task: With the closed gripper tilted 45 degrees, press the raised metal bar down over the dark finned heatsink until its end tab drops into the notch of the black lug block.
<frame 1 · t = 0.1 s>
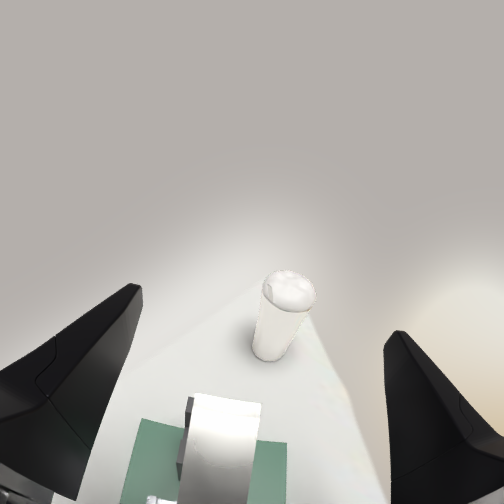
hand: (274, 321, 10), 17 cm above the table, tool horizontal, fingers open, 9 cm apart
lug block: (206, 462, 18), resting on board
milkshake: (264, 352, 29), on the table
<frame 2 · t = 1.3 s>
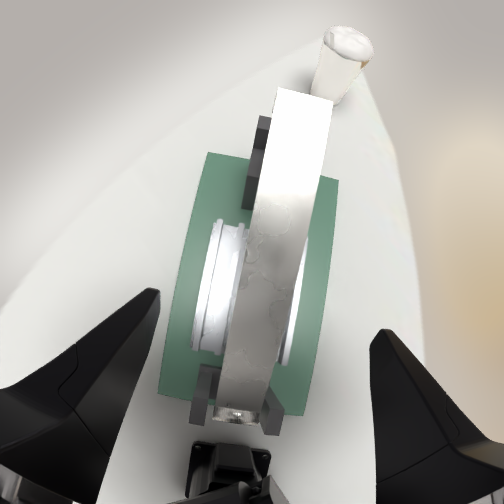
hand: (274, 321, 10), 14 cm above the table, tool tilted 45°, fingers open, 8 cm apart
board: (253, 283, 23), on the table
lug block: (266, 191, 25), resting on board
metal bar: (266, 277, 14), point 10 cm above the table, hinge at 22.0°
milkshake: (321, 98, 28), on the table
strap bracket: (231, 381, 22), resting on board
heatsink: (247, 295, 23), resting on board
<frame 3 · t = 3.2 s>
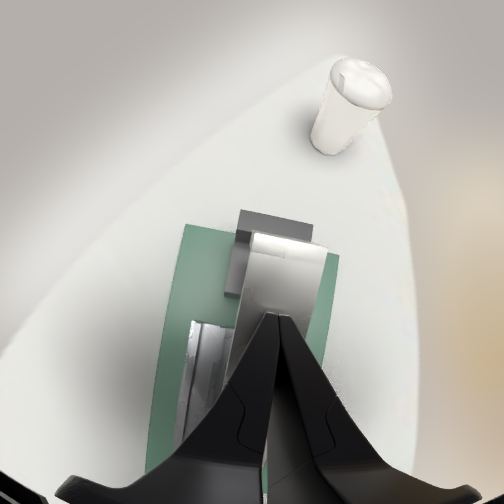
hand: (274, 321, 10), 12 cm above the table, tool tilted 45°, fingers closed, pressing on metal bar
board: (238, 375, 20), on the table
lug block: (254, 271, 22), resting on board
metal bar: (241, 430, 11), point 9 cm above the table, hinge at 17.7°, touching gripper
milkshake: (323, 142, 25), on the table
heatsink: (232, 387, 20), resting on board
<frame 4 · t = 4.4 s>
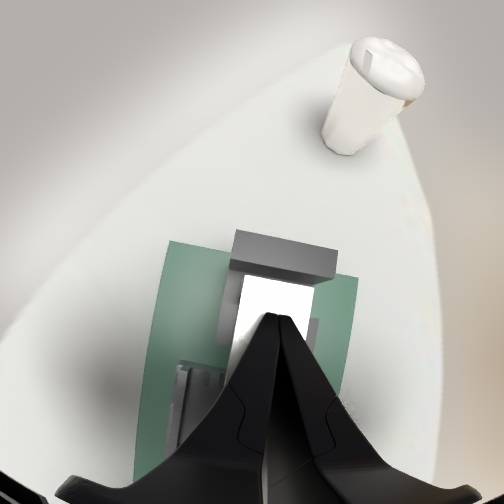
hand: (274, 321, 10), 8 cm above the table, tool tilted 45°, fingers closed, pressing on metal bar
board: (235, 422, 16), on the table
lug block: (254, 299, 18), resting on board
metal bar: (236, 483, 9), point 7 cm above the table, hinge at -0.4°, touching gripper
milkshake: (336, 140, 21), on the table
heatsink: (229, 435, 16), resting on board
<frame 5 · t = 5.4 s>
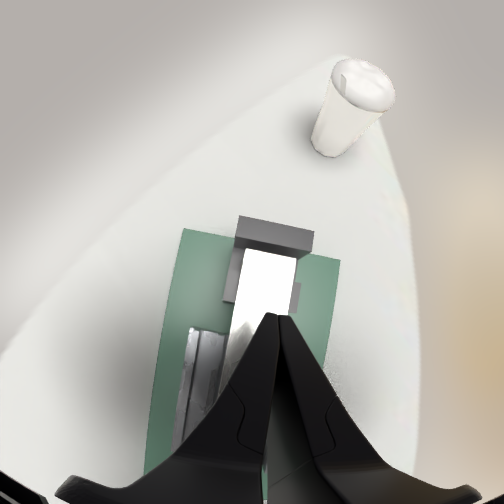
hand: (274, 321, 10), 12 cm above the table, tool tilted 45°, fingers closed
board: (237, 382, 20), on the table
lug block: (253, 276, 21), resting on board
metal bar: (238, 419, 13), point 7 cm above the table, hinge at -0.4°
milkshake: (324, 144, 24), on the table
heatsink: (231, 394, 20), resting on board
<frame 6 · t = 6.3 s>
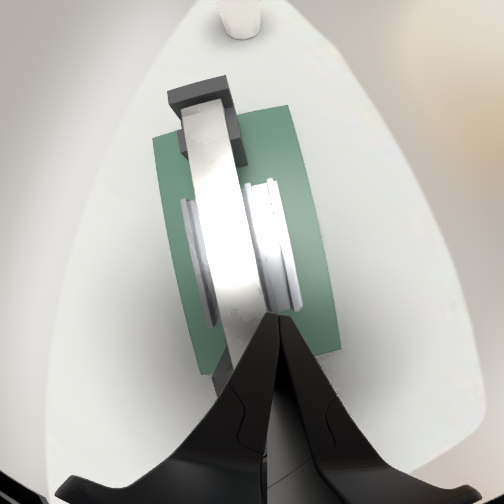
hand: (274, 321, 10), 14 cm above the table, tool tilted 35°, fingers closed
board: (244, 240, 23), on the table
lug block: (222, 148, 23), resting on board
metal bar: (230, 243, 17), point 7 cm above the table, hinge at -0.4°
milkshake: (240, 32, 23), on the table
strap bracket: (262, 339, 23), resting on board
heatsink: (244, 253, 23), resting on board
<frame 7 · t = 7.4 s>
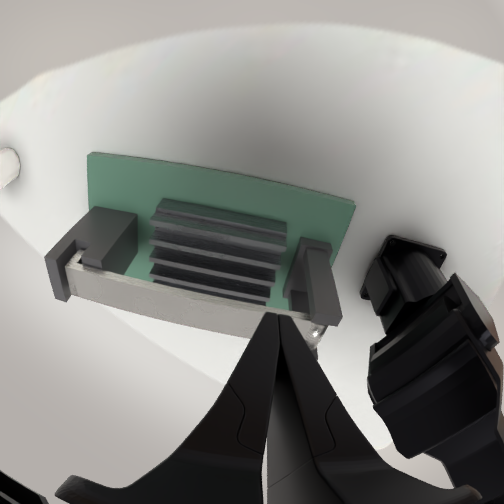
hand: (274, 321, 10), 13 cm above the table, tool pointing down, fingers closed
board: (206, 239, 23), on the table
lug block: (117, 224, 23), resting on board
metal bar: (190, 302, 18), point 7 cm above the table, hinge at -0.4°
milkshake: (13, 165, 20), on the table
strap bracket: (304, 261, 24), resting on board
heatsink: (218, 244, 24), resting on board
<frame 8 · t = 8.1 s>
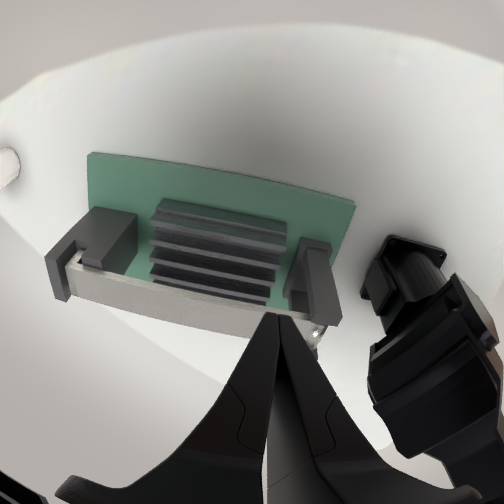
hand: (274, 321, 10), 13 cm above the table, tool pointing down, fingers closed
board: (206, 239, 23), on the table
lug block: (117, 224, 23), resting on board
metal bar: (190, 302, 18), point 7 cm above the table, hinge at -0.4°
milkshake: (13, 165, 20), on the table
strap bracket: (304, 261, 24), resting on board
heatsink: (218, 244, 24), resting on board
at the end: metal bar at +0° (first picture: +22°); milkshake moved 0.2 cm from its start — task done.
